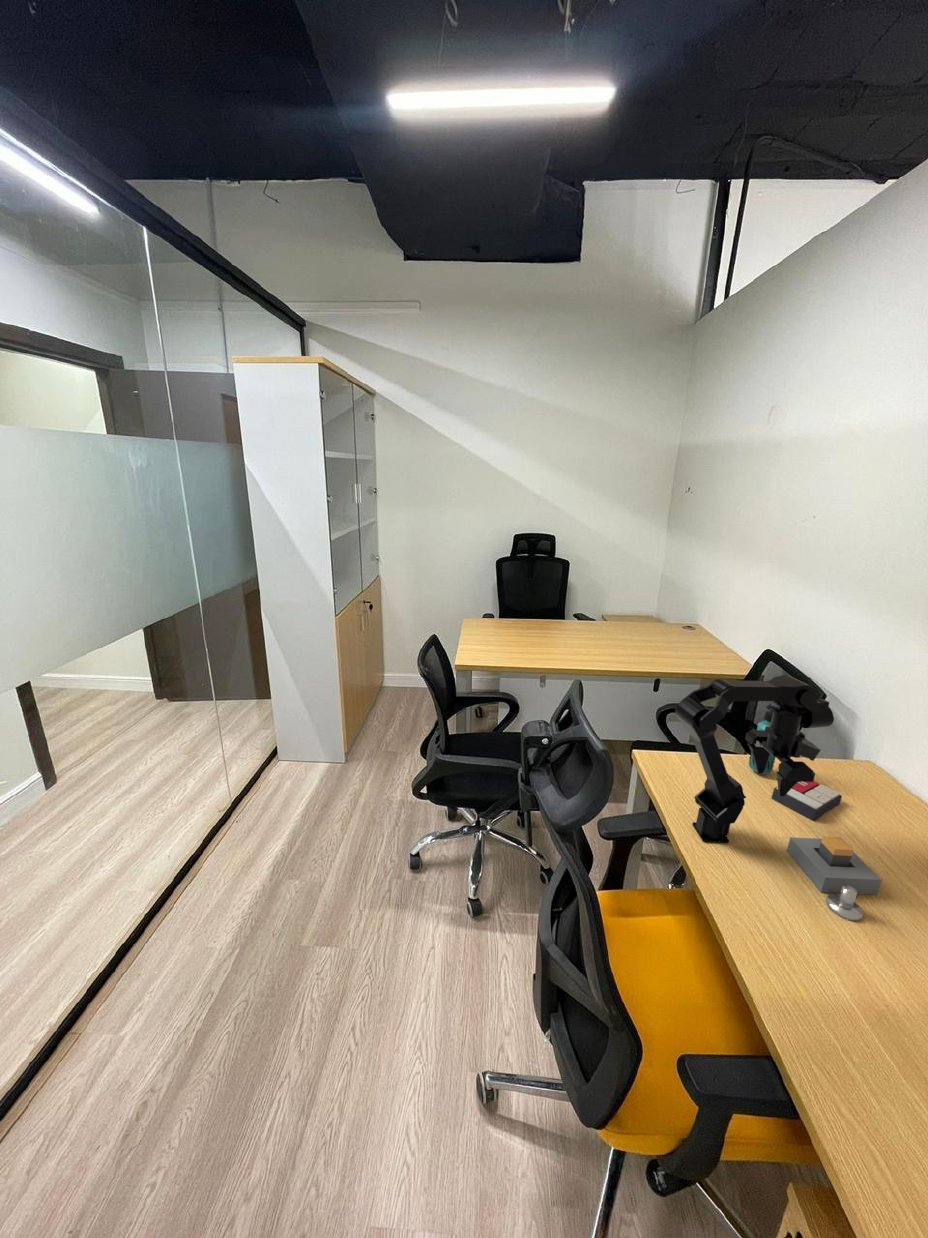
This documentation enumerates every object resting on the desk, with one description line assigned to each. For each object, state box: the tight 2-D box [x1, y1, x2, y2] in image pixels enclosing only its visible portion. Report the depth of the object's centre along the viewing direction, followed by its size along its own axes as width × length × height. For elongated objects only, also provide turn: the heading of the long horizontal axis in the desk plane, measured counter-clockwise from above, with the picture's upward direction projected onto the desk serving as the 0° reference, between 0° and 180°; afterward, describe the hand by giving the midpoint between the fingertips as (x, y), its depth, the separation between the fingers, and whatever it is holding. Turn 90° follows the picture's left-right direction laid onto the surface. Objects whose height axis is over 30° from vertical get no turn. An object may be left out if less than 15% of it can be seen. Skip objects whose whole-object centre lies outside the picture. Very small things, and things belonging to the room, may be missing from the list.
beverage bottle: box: [748, 710, 777, 775], centre depth 145 cm, size 6×7×20 cm
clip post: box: [825, 885, 864, 922], centre depth 100 cm, size 6×6×5 cm
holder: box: [786, 836, 883, 895], centre depth 110 cm, size 12×12×4 cm
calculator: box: [770, 780, 843, 822], centre depth 134 cm, size 11×4×15 cm
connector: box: [818, 835, 855, 867], centre depth 109 cm, size 4×4×8 cm
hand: (770, 784), depth 120 cm, fingers open, 9 cm apart
